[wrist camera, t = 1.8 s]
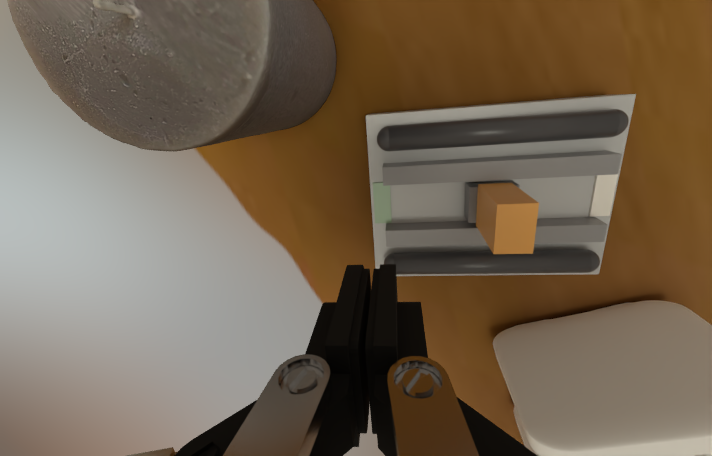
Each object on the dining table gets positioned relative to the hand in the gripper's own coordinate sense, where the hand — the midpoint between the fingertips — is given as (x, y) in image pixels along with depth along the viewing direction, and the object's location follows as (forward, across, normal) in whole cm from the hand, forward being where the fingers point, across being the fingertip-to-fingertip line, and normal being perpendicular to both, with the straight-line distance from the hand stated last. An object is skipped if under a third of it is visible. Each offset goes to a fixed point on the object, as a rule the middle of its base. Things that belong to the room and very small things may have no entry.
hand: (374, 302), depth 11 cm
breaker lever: (+13, -7, 0) cm, 15 cm away
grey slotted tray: (+16, -7, 0) cm, 18 cm away
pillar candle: (+16, +8, -10) cm, 21 cm away
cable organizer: (+16, -17, +16) cm, 29 cm away
